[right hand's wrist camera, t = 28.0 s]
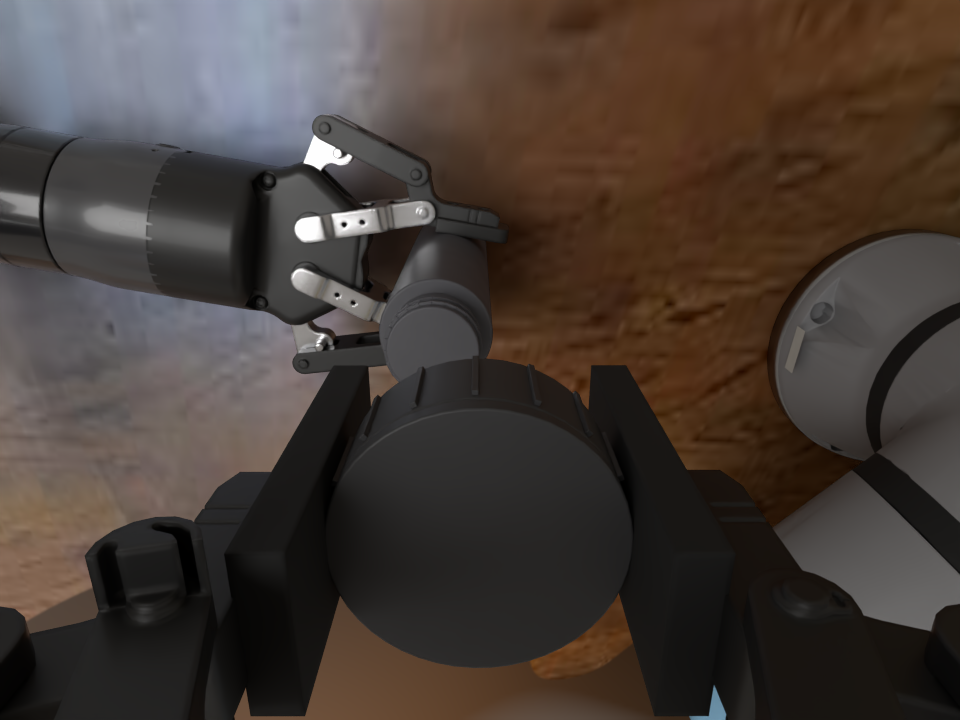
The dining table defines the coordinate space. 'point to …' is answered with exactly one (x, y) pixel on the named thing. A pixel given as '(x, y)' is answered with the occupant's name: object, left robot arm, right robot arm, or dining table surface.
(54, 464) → the dining table surface
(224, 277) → the left robot arm
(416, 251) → the dark grey bottle
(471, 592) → the lid
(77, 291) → the dining table surface
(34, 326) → the dining table surface
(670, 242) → the dining table surface
